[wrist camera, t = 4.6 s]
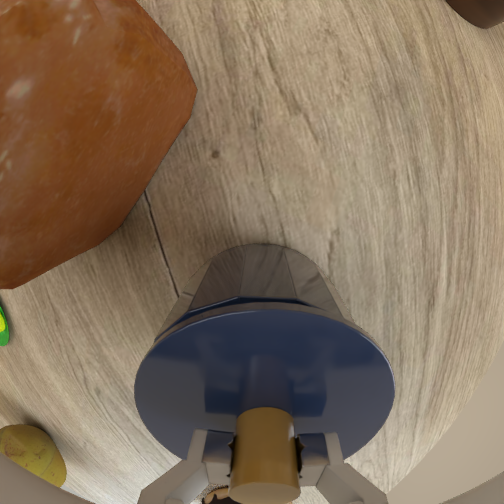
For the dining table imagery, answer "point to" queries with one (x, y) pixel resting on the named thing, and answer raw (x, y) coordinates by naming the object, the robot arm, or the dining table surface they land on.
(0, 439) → the fruit
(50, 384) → the dining table surface
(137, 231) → the dining table surface
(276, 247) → the pot
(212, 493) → the donut
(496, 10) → the stand
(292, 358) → the pot lid
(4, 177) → the bread
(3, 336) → the green dish with lemons
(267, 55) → the dining table surface
